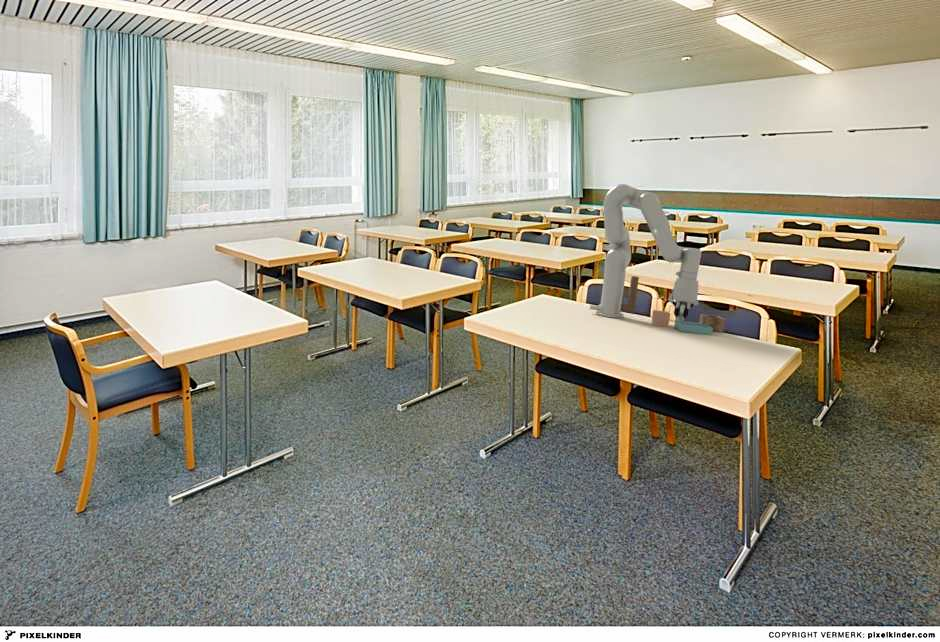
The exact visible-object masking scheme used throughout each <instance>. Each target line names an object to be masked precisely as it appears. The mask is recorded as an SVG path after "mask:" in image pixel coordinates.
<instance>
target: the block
mask: <svg viewBox="0 0 940 642" xmlns="http://www.w3.org/2000/svg"><path fill="white" fill-rule="evenodd" d="M670 316H671V313H670V312H669V311H666V310H657V309H656V310H655V309H653V310H652V316H651V324H652V325H653V326H656V327H664V328H669V326H670Z"/></svg>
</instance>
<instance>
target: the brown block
mask: <svg viewBox="0 0 940 642" xmlns="http://www.w3.org/2000/svg"><path fill="white" fill-rule="evenodd" d="M699 317H700V318H699V322H698V323H702V324H707V325H709V326H710V327H712V328H713V331H715V332H714V333H720V334H721V333H724V329H725V322H726V318H723V317H722V316H720V315H710V314H700V316H699Z"/></svg>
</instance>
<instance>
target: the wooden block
mask: <svg viewBox="0 0 940 642" xmlns="http://www.w3.org/2000/svg"><path fill="white" fill-rule="evenodd" d="M639 279H640V277H639V276H636V275H632V276H631V277H630V285H629V291H628V292H627V290H626V289H625V288H624V290H623V297H622V305H621V312H624V313H630V314H635V313H636V310H637V305H636V302H637V294H638V287H639ZM624 298H627V303H624Z"/></svg>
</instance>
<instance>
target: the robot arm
mask: <svg viewBox="0 0 940 642" xmlns="http://www.w3.org/2000/svg"><path fill="white" fill-rule="evenodd" d="M623 205H624V206H625V205H626V206H629V207H631V208H634V209H638V210H639V211H640V212H641V214H642V216H643V217H644V220H645V222H646V224H647V226H648V228H649V230H650V233H651V235H652V236H653V239H654V241H655V243H656V246H657V248H658V250H659V252H660V254H661V256H662V257H663V259H664V261H666V262H667V263H680V267H679V271H676V272H675V276H677V277H676V278H675V281H674V285H673V288H672V293H671V295H670V296H669V297H668V298H667V301H668V302H670V303H671V304H672V305H673V307H674V311H673V315H674V317H676V318H677V317H678V313H679V303H680V302H687V303H686V308H685V314H684V319H686V318H687V317H689V311H690V309H692V308H693V307H695V306H698V305H699V301H698V296H699V280H697V279H698V273H699V269H700V263H701V257H702V250H701V249H700V248H695V247H684V246H680V245H678V243H677V242H676V240H675V238H674V236H673V233H672V230H671V225H670V221H669V219H668V217H667V215H666V213H665V211H664V210H663V209H664V208H662V207H663V206H662V205H661V203H660V198H659V197H658V196H657V194H656V193H653V192H652V191H651V192H650V191H644V190H642V189H638V188H635V187H633V186H630V185H628V184H625V183H622V184H621V183H620V184H617V185H615V186H613V187H612V188H611V189H610V190H608V192H607V193H606V194H605V197H604V199H603V206H602V207H603V222H604V223H603V224H604V237H605V240H606V242H607V243H608V244H609V251H607V253H606V255H605V259H604V273H603V274H604V275H603V279H602V280H603V282H602V289H601V298H600V303H599V304H598V305H591V304H590V305H589V310H592V311H594V310H595V311H596V312H595V315H597V316H600V317H607V318H615V319H616V318H617V319H618V318H624V316H625V315H624V314H623V313H621V312H622V311H621V305H622V297H623V290H624V289H625V280H626V269H627V268H626V267H627V266H628V265H629V264H630V262H631V260H632V251H631V240H630V232H629V230H628V228H627V226H625V225H624V212H623Z"/></svg>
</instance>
